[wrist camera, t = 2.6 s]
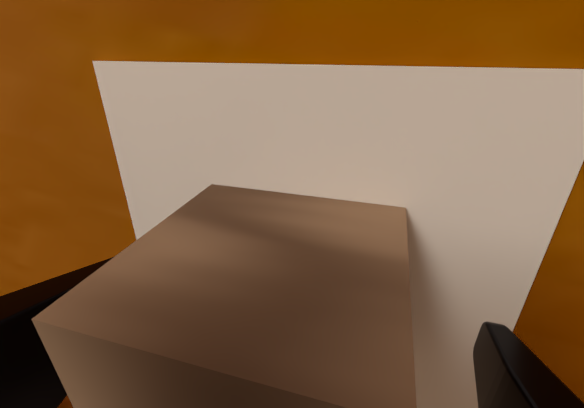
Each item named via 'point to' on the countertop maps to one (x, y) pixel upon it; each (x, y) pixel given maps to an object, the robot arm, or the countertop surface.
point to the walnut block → (244, 309)
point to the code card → (373, 170)
